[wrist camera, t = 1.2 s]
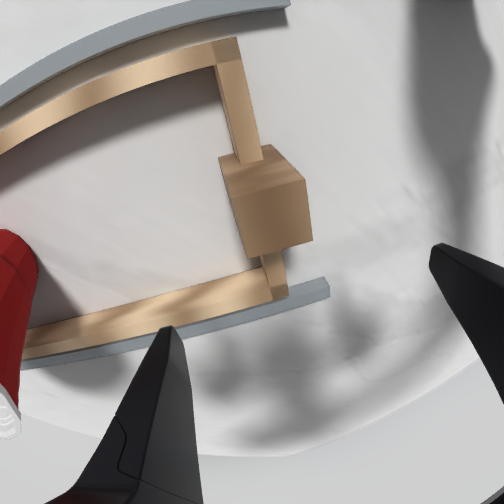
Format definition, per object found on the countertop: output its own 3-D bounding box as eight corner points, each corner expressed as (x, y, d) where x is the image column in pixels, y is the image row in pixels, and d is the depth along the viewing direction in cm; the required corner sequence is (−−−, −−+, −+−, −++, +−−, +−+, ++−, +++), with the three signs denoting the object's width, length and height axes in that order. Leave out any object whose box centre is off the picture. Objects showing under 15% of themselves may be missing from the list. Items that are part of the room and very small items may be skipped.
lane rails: (280, -10, 12) (286, -15, 11) (324, 287, 25) (330, 297, 24) (-101, 183, 11) (-109, 189, 10) (14, 362, 24) (11, 371, 23)
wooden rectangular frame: (247, 37, 14) (276, 23, 9) (293, 270, 23) (320, 328, 18) (-84, 203, 13) (-125, 243, 8) (6, 344, 22) (-10, 393, 17)
